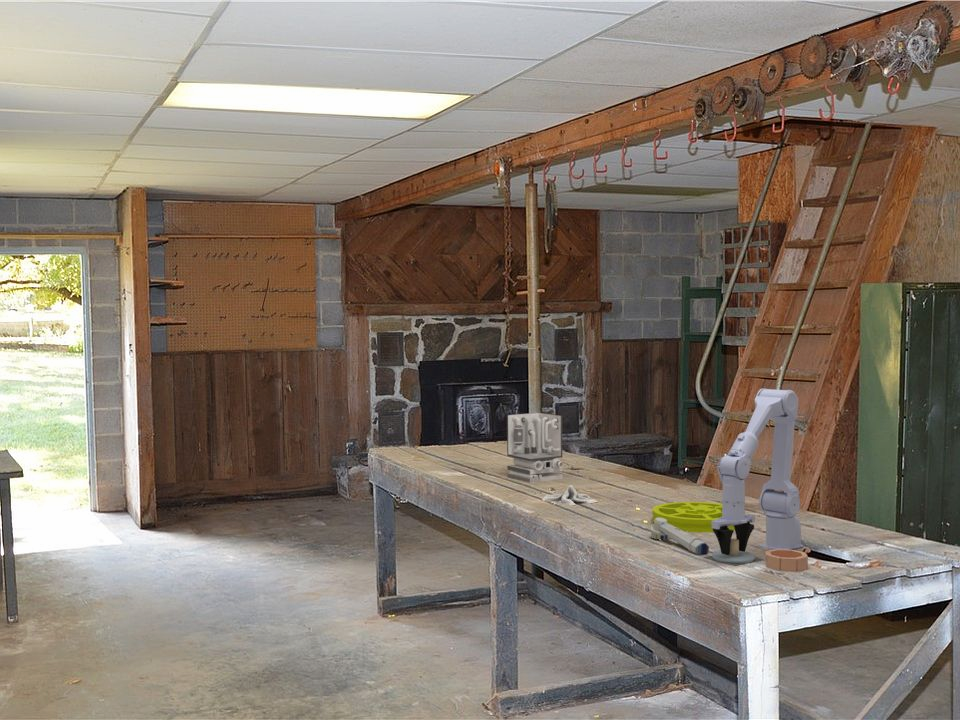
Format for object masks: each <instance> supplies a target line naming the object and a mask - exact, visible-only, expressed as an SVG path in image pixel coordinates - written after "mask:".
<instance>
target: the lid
mask: <svg viewBox="0 0 960 720" xmlns="http://www.w3.org/2000/svg"><path fill="white" fill-rule="evenodd" d="M711 556H712V559H713V560H712V561H714V560H715V562H717V561H718V563H721V562H723V563H722V564H725V563H730V564H744V565H746V563H748V564H752V563H755V562H754V561H755V558H756V555H755V554H754V553H752V552H751V551H746V550H745V551H744V552H743V551H739V540H738V539H736V538H731V542H730V553H729V555H725V554H722V553H721V549H719V550H716V551H712V552H711ZM751 562H752V563H751Z"/></svg>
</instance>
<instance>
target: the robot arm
mask: <svg viewBox="0 0 960 720" xmlns="http://www.w3.org/2000/svg"><path fill="white" fill-rule="evenodd" d="M754 407H755V409H754V411H753V413H752V416H751V417H750V420H749V422H748V425H747V427H746V428H745V431H743V432H740V433H739V434H738V435H737V437H736V439H735V441H734V442H733V444H732V446H731V448H730V450H729V451H728V453H727V455H724V456H723V457H721V458H720V459H719V462H718V465H717V472H718V475H719V480H720V483H721V485H722V491H721V492H722V495H721V496H722V498H721V499H722V502H721V504H722V517H721V518H719V519H716V520H713V521H712V528H713V531H714V532H713V533H714V534H715V536H716V539H717V541H718V545H719V548H720V549H719V550H721V553H722V554H725V555H729V553H730V542H731V539H732V536H733V534H734V531H735V536H736V537H735V539H738V540H739V551H743V552H744V551H746V550H747V545H748V542H749V539H750V536H751V535H752V532H753V531H754V529H755V525H754V523H755V521H756V518H755V517H756V515H754V514H751V513H748V514H747V513H746V512H745V511H746V510H745V509H746V507H745V506H746V504H745V503H746V499H745V498H746V491H745V490H746V486H745V485H746V483H745V481H746V478H747V477H748V476H749V474H750V470H751V464H752V460H751V459H752V457H753V456H754V454H755V452H756V450H757V449H758V447H759V444H760V443H759V440H758V438H759V436H760V435H761V433H762V431H763V430H764V429H765V427H766V425H767V424H768V422H770V420H771V421H772V422H773V423H774V432H773V444H772V456H771V457H772V458H771V470H770V471H771V472H770V479H769V480H768V481H767V482H765V483H763V485H762V489H761V493H760V495H759V500H758V504H759V507H760V509H761V511H762V512H763V515H765V542H763V543H759V545H758V546H759V547H764V548H767V549H770V550H773V549H792V550H795V549H799V548H803V547H804V544H802V523H801V520H800V518H799V517H798V516H797V514H798V513H799V511H800V508H801V499H800V490H799V488H798V487H797V486H796V485H795V483H793V482H792V481H791V477H792V464H793V452H794V451H793V450H794V438H795V437H794V436H795V423H796V420H797V419H798V414H799V413H798V411H799V397H798V396H797V394H796V393H795V391H794V390H792V389H769V388H765V387H764V388H760V389H759V390H758V391H757V393H756V396H755V398H754ZM745 513H746V514H745ZM752 523H753V524H752ZM733 525H734V528H735V530H730V529H729V528H728V526H733Z"/></svg>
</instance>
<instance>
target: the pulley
mask: <svg viewBox="0 0 960 720" xmlns="http://www.w3.org/2000/svg"><path fill="white" fill-rule="evenodd" d="M658 517H660V518H664V519H666V520H667V523H668V524H670V525H672V526H674V527H676V528H678V529H680V530H682V531H684V532H685V531H688V532H687V533H701V532H711V533H714V531H713V528H712V521H713V520H716V519H719V518H721V517H722V503H717V502H708V501H707V502H706V501H705V502H704V501H678V502H666V503H661V504H658V505H655V506H653V507H652V523H653V522H654V520H655V518H658ZM728 528H729V529H730V530H733V531H735V528H734V525H733V526H728Z"/></svg>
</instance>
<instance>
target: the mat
mask: <svg viewBox="0 0 960 720" xmlns="http://www.w3.org/2000/svg"><path fill="white" fill-rule="evenodd" d="M703 559H706V560H709V561H710V560H711V561H715V560H713V559H712V555H709V556H704V557H703ZM760 561H764V559H763V558H758V557H755V561H754V562H751V563H750V564H752V563H757V562H760ZM715 562H718V561H715ZM718 563H719V562H718ZM720 563H722V564H726V565H729V566H733V567H738V566H742V565H746V564H749V563H746V564H730V563H723V562H720Z"/></svg>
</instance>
